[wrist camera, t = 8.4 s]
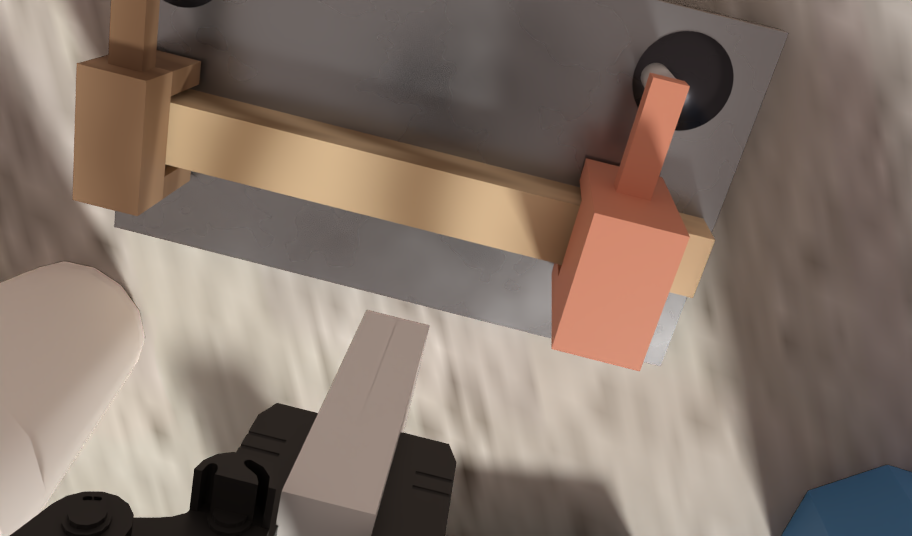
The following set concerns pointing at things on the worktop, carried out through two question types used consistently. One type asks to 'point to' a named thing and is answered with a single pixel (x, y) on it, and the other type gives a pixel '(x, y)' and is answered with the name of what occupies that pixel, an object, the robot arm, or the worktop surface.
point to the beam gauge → (300, 157)
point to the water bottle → (857, 506)
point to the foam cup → (57, 375)
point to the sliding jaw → (623, 240)
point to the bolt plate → (459, 125)
